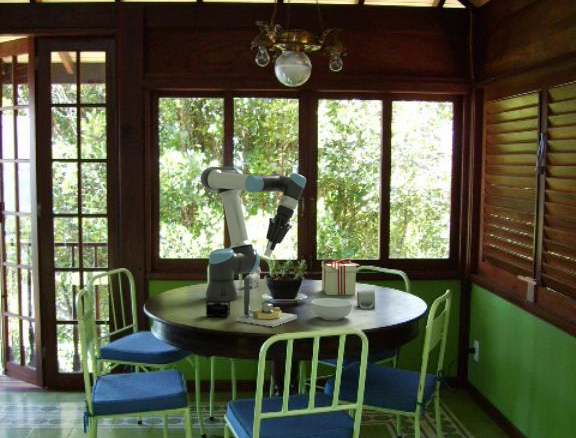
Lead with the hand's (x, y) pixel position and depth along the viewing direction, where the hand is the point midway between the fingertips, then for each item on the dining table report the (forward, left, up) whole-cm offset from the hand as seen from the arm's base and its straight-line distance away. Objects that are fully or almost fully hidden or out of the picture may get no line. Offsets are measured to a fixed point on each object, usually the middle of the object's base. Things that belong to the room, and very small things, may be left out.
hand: (266, 256), depth 299 cm
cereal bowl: (+33, -1, -24) cm, 41 cm away
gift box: (+11, +51, -24) cm, 57 cm away
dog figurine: (-35, +41, -24) cm, 58 cm away
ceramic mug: (+37, +27, -24) cm, 51 cm away
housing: (+12, -18, -24) cm, 32 cm away
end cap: (-9, -24, -24) cm, 35 cm away
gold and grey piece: (+10, -19, -22) cm, 31 cm away
